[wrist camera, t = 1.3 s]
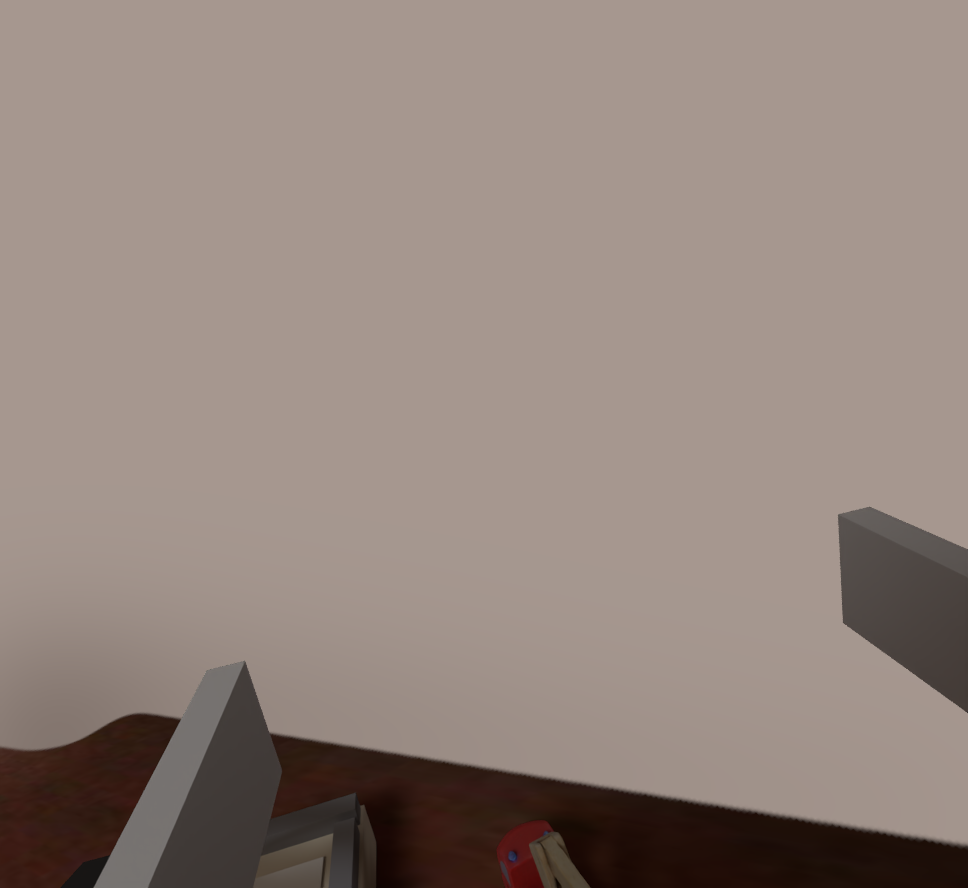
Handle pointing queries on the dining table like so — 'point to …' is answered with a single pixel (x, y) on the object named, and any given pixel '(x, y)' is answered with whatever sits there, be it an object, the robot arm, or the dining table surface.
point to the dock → (319, 848)
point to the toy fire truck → (537, 858)
